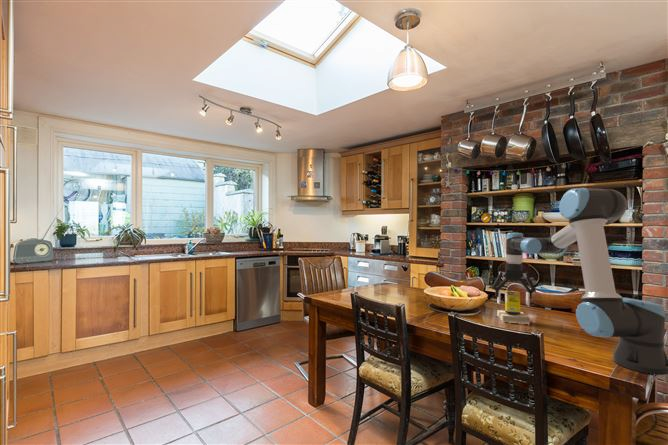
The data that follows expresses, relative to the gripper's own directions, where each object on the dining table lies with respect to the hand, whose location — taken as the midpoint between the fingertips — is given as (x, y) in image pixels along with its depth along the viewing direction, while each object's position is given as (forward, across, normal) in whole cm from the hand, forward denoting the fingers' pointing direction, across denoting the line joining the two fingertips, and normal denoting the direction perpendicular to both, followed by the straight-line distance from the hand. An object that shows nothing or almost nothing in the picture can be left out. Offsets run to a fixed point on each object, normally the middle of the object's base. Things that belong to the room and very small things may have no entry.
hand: (512, 304), depth 175 cm
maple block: (+9, 0, 0) cm, 9 cm away
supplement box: (+5, 0, 0) cm, 5 cm away
